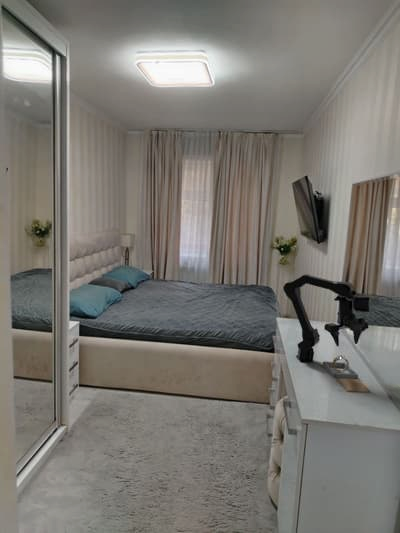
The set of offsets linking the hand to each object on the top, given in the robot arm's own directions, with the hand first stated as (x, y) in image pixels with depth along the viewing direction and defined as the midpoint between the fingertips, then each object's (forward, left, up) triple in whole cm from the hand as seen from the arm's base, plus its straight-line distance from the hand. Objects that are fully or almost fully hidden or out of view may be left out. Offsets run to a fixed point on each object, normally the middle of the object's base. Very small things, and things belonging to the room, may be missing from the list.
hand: (346, 345), depth 165 cm
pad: (-2, -13, -13) cm, 19 cm away
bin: (-2, 0, -13) cm, 13 cm away
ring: (-2, 0, -13) cm, 13 cm away
